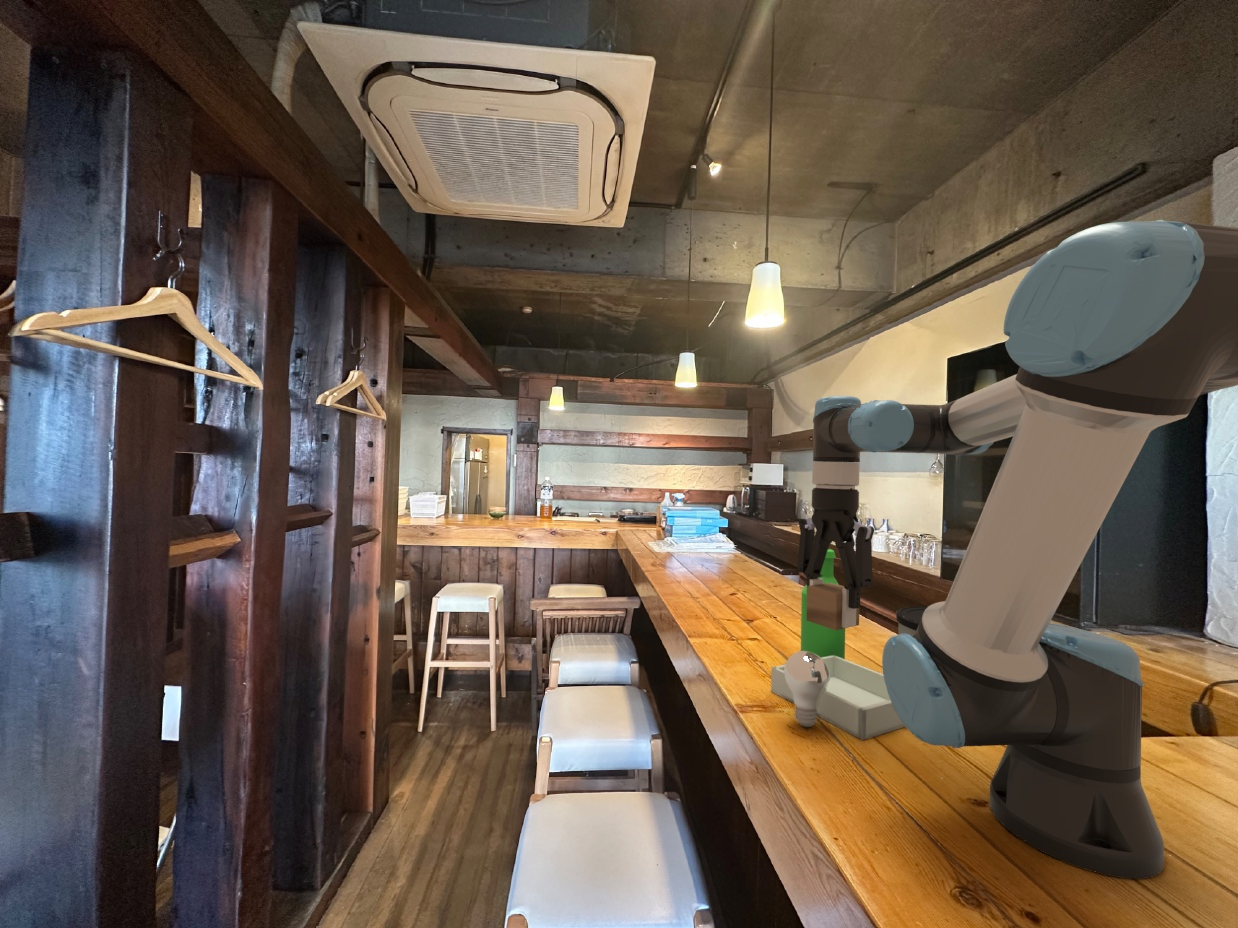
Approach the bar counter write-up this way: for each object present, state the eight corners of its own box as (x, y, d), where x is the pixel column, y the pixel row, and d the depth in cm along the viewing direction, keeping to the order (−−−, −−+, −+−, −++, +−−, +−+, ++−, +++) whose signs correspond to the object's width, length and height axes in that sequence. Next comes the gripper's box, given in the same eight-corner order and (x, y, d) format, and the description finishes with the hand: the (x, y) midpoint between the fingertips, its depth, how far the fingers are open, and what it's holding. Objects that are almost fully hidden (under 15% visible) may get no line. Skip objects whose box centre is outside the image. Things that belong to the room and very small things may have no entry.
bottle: (848, 665, 112) (849, 548, 112) (840, 678, 105) (842, 553, 105) (805, 656, 117) (807, 545, 117) (795, 668, 109) (797, 549, 110)
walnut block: (835, 630, 86) (836, 594, 86) (806, 620, 91) (807, 586, 91) (859, 625, 89) (859, 590, 89) (829, 615, 94) (829, 582, 94)
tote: (929, 719, 87) (929, 692, 87) (862, 740, 80) (862, 710, 80) (833, 677, 105) (833, 654, 105) (771, 691, 97) (771, 667, 97)
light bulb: (835, 726, 84) (837, 652, 84) (818, 742, 79) (820, 662, 79) (794, 712, 89) (795, 641, 89) (775, 726, 84) (777, 651, 84)
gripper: (901, 490, 83) (897, 634, 83) (806, 484, 100) (802, 604, 100) (871, 490, 80) (867, 641, 80) (777, 484, 96) (774, 609, 96)
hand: (831, 620), depth 90 cm, fingers closed on walnut block, 6 cm apart
